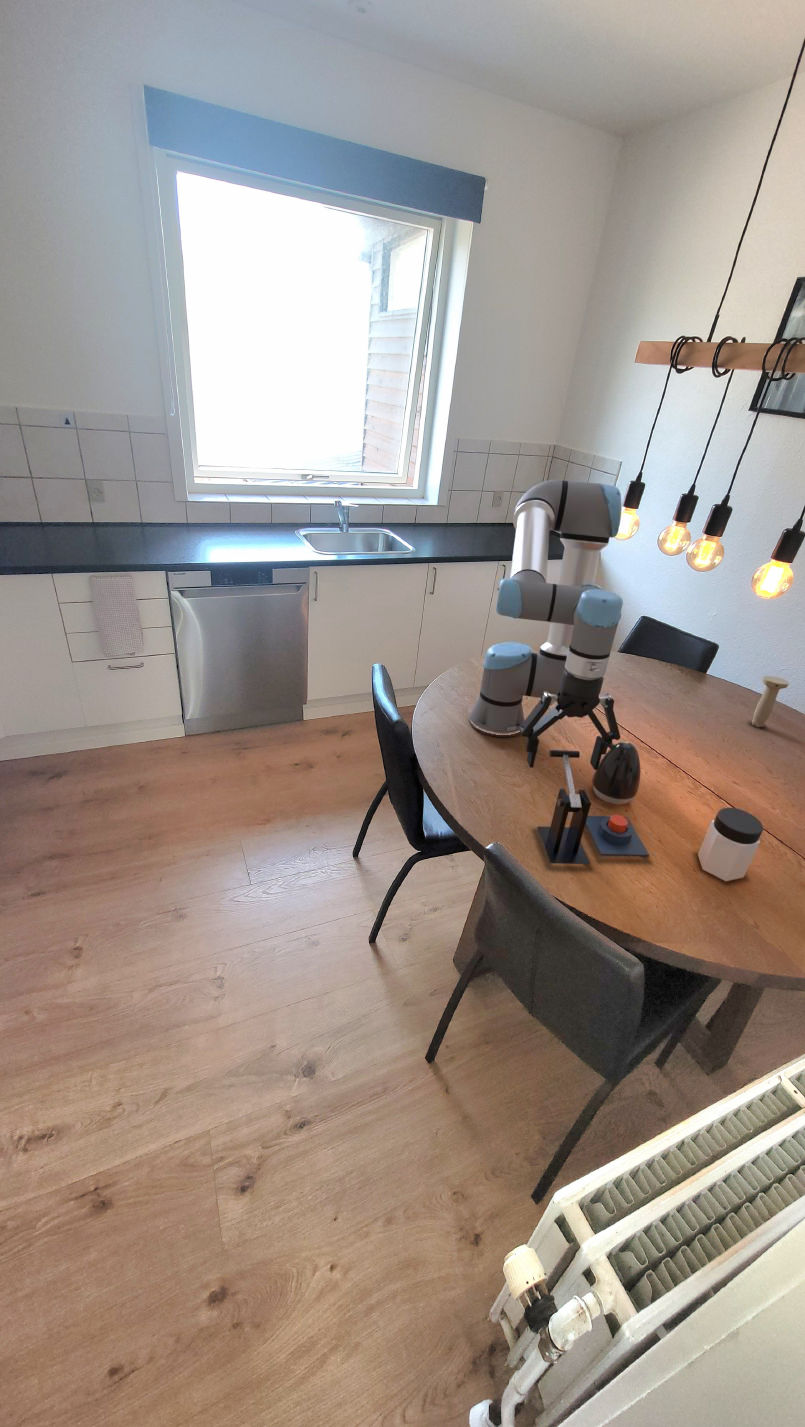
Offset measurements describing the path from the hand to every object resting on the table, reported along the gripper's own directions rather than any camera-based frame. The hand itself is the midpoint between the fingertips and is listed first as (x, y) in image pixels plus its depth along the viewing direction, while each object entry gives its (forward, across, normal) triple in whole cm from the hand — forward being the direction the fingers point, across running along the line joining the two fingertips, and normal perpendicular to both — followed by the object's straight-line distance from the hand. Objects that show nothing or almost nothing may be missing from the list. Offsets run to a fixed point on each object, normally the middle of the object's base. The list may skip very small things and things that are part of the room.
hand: (561, 765), depth 122 cm
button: (+11, +12, -7) cm, 17 cm away
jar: (+15, +32, -14) cm, 38 cm away
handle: (+14, +76, +46) cm, 90 cm away
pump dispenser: (+14, +17, +8) cm, 24 cm away
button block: (+14, +12, -6) cm, 20 cm away
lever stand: (+14, 0, -10) cm, 17 cm away
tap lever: (+1, 0, -4) cm, 5 cm away
